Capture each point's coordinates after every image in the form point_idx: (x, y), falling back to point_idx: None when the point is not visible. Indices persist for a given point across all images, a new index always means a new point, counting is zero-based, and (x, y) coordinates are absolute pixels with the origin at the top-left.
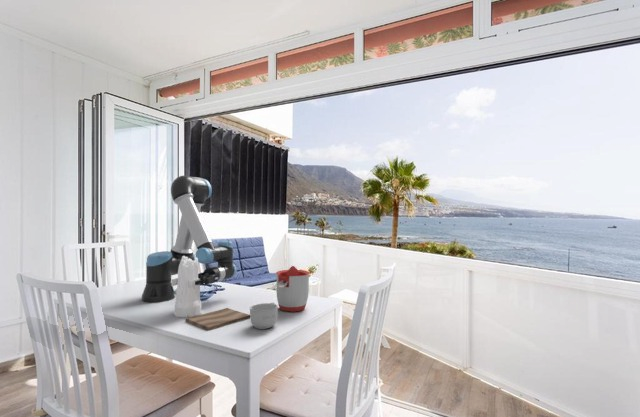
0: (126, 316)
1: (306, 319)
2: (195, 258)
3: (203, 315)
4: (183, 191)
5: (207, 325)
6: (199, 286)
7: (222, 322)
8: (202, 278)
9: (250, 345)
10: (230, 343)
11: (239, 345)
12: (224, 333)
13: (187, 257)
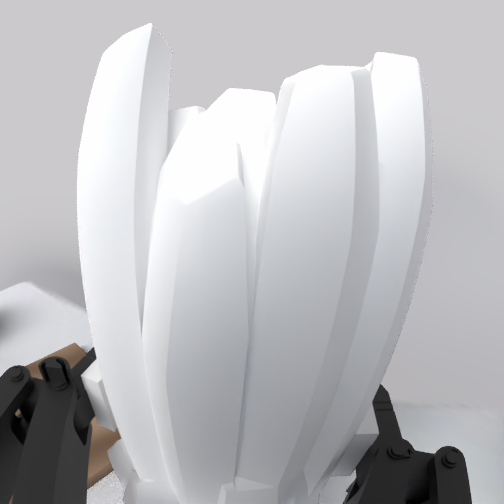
0: (436, 418)
1: None
2: (154, 59)
3: (101, 444)
4: None
5: (77, 352)
6: (111, 451)
7: (33, 366)
8: (53, 370)
9: (16, 292)
10: (41, 299)
11: (30, 293)
12: (41, 332)
13: (374, 67)
